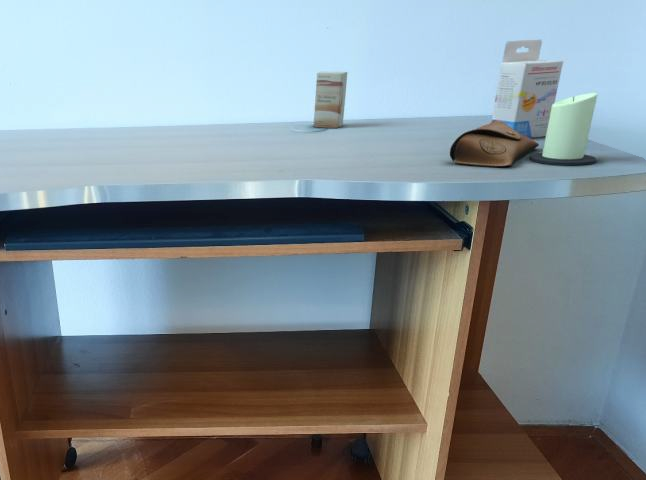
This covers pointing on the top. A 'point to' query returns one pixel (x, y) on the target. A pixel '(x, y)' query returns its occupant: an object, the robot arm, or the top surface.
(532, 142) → the sunglasses case
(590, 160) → the coaster
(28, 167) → the top surface
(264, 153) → the top surface
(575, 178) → the top surface
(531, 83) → the ink box
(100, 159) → the top surface
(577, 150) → the candle
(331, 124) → the cream medicine box
